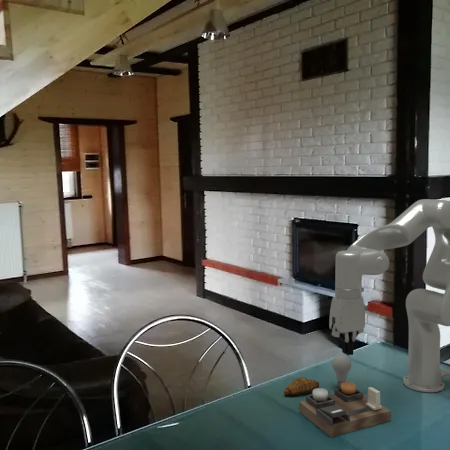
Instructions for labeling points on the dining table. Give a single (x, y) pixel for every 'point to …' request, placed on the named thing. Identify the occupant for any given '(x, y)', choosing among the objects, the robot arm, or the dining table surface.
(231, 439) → the dining table surface
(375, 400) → the cream stepped block
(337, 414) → the rocker
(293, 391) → the croissant
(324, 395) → the grey button
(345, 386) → the orange button
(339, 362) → the lightbulb
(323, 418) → the panel
